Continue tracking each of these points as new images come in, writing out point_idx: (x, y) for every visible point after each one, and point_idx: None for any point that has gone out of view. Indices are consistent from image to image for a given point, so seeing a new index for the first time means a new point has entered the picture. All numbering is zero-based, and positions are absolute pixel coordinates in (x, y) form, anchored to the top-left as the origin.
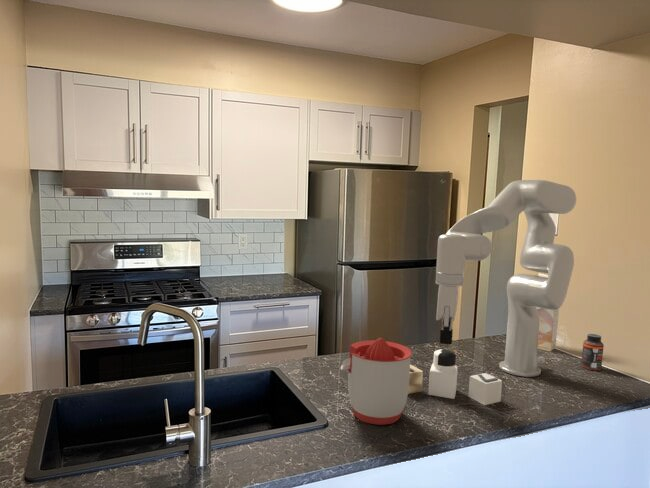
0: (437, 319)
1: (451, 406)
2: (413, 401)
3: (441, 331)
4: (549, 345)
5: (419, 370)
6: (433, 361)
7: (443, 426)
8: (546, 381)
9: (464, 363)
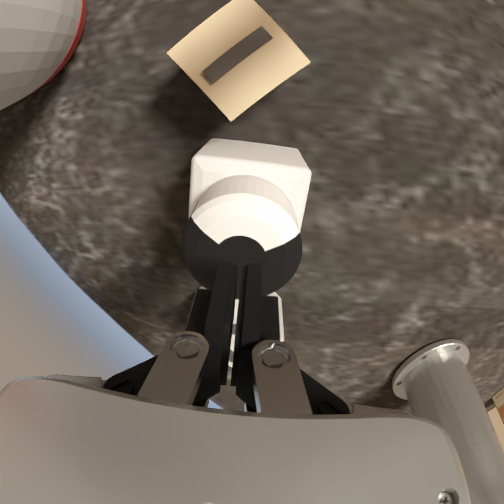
0: (13, 382)
1: (150, 208)
2: (143, 95)
3: (209, 320)
4: (497, 403)
5: (235, 106)
6: (237, 178)
7: (43, 190)
8: (371, 400)
9: (482, 267)
